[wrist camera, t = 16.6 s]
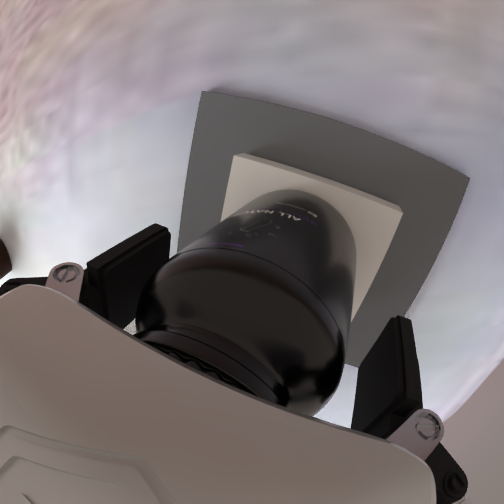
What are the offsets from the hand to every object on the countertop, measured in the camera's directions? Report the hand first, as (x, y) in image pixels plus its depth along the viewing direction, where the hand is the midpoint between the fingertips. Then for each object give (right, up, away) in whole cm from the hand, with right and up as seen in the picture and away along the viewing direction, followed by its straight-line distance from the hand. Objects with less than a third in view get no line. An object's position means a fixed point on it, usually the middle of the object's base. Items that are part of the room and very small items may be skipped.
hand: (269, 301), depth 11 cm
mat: (+2, +2, +6) cm, 7 cm away
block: (+1, 0, +6) cm, 7 cm away
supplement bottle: (+2, +2, +5) cm, 5 cm away
